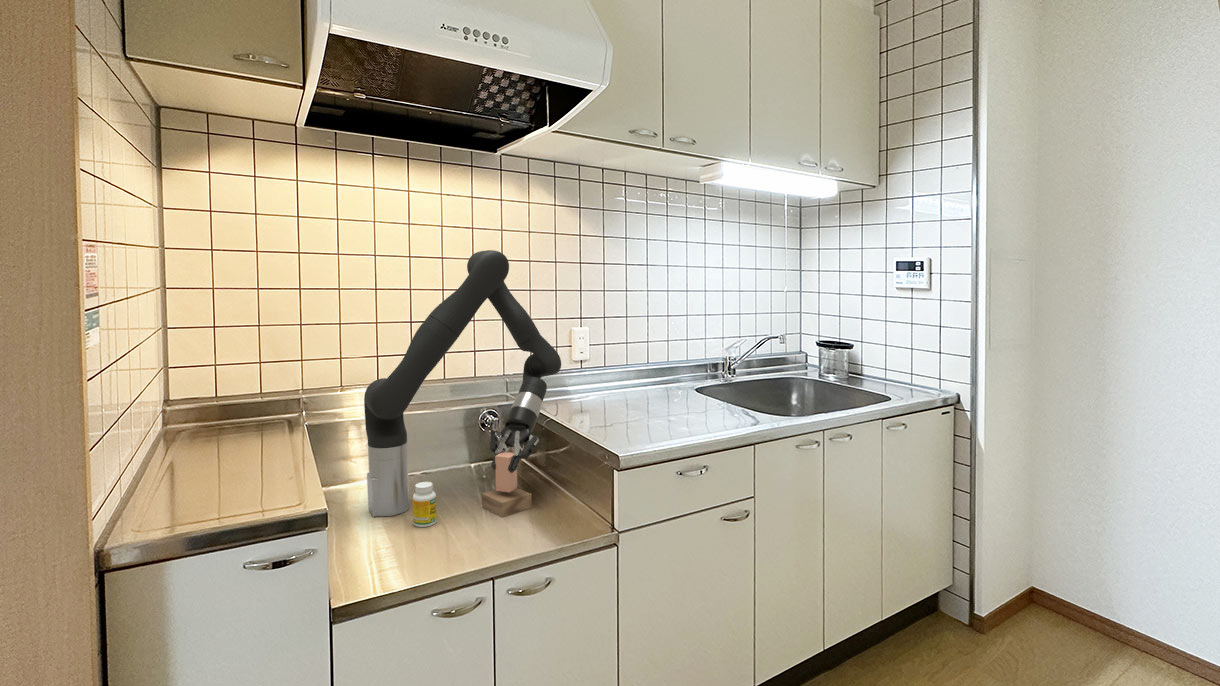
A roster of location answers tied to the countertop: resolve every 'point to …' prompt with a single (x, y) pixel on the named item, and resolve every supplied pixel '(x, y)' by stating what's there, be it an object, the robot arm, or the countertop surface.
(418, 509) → the supplement bottle
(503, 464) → the salmon pink block
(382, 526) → the countertop surface
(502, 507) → the walnut block
